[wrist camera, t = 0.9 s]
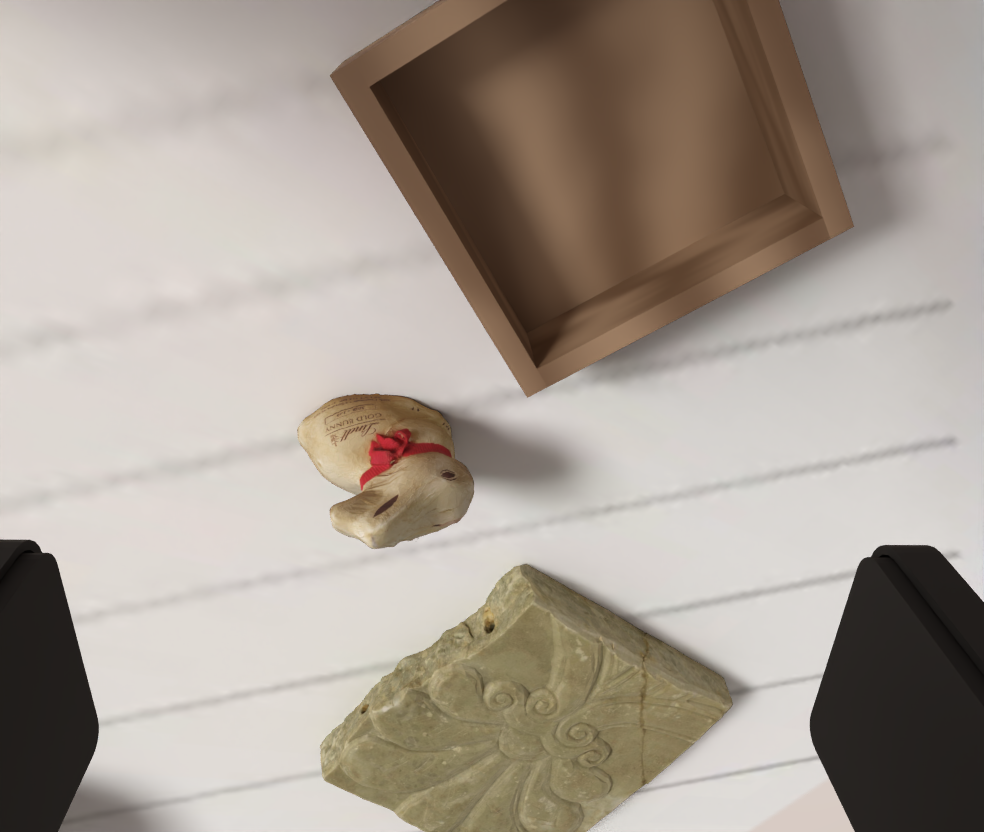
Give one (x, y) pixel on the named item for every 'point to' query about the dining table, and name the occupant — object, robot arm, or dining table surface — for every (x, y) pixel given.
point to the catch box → (597, 161)
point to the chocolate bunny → (387, 467)
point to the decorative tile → (524, 717)
